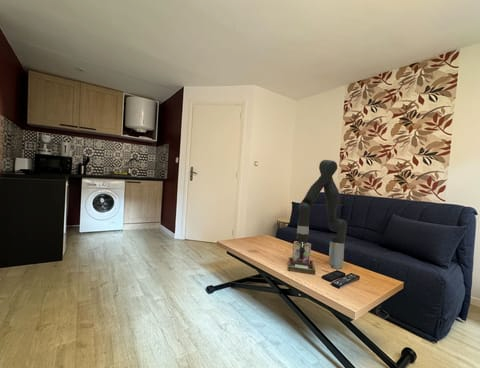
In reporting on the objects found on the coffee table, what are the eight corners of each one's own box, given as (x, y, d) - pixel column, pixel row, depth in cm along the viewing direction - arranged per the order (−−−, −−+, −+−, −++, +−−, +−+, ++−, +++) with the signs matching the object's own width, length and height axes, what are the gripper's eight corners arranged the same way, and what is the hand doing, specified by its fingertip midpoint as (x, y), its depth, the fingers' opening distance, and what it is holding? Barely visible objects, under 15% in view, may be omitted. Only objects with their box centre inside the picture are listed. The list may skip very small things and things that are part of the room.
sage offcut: (294, 267, 149) (295, 264, 149) (307, 269, 147) (307, 266, 147) (294, 270, 143) (295, 267, 143) (308, 272, 141) (308, 269, 141)
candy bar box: (291, 266, 154) (293, 242, 154) (292, 264, 158) (294, 240, 158) (308, 269, 149) (310, 244, 149) (309, 267, 154) (311, 243, 154)
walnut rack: (288, 263, 160) (288, 257, 160) (312, 266, 156) (312, 260, 156) (287, 273, 141) (288, 266, 141) (314, 277, 138) (315, 270, 138)
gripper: (296, 229, 162) (295, 253, 162) (297, 233, 148) (295, 260, 148) (307, 231, 160) (306, 255, 160) (309, 235, 146) (307, 261, 146)
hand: (301, 257), depth 154 cm, fingers closed on candy bar box, 5 cm apart
